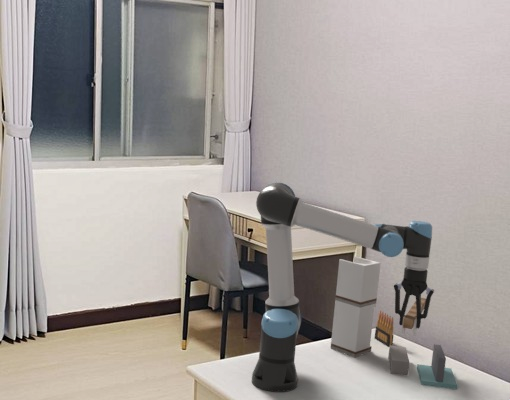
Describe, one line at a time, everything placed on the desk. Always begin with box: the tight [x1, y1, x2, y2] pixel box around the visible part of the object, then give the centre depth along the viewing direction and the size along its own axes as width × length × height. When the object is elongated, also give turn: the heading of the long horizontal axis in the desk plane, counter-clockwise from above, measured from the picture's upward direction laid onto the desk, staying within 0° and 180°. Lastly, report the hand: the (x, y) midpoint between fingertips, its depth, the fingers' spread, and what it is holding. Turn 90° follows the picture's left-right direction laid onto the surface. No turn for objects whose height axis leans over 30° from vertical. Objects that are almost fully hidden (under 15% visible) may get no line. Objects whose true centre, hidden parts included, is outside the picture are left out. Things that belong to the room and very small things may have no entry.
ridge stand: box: [416, 344, 459, 390], centre depth 246 cm, size 12×16×10 cm
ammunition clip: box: [374, 310, 394, 348], centre depth 280 cm, size 11×2×12 cm, turn 22°
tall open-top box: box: [330, 256, 381, 358], centre depth 266 cm, size 11×11×35 cm
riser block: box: [387, 345, 410, 377], centre depth 254 cm, size 6×16×5 cm, turn 172°
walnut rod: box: [403, 297, 426, 330], centre depth 245 cm, size 32×3×3 cm, turn 159°
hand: (408, 335), depth 236 cm, fingers closed on walnut rod, 3 cm apart
